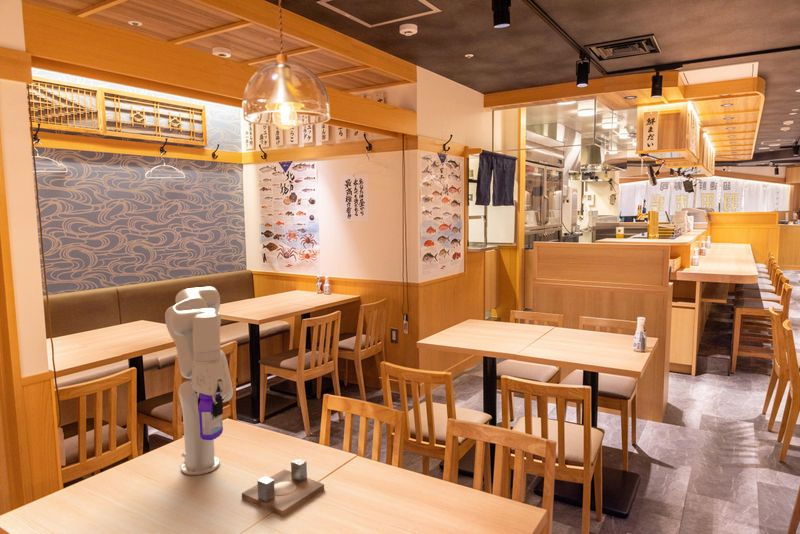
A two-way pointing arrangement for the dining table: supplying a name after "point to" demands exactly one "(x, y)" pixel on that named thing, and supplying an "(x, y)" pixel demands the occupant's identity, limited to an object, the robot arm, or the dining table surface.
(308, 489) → the base board
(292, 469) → the post pair
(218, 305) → the robot arm
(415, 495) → the dining table surface
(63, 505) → the dining table surface
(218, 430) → the bottle
